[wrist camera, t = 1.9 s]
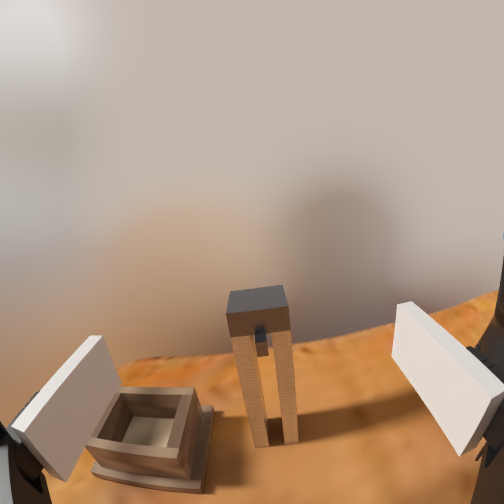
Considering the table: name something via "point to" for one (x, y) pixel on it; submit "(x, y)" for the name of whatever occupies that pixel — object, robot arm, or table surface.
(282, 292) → the steel tongs
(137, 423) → the box
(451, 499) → the table surface
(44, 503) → the robot arm
